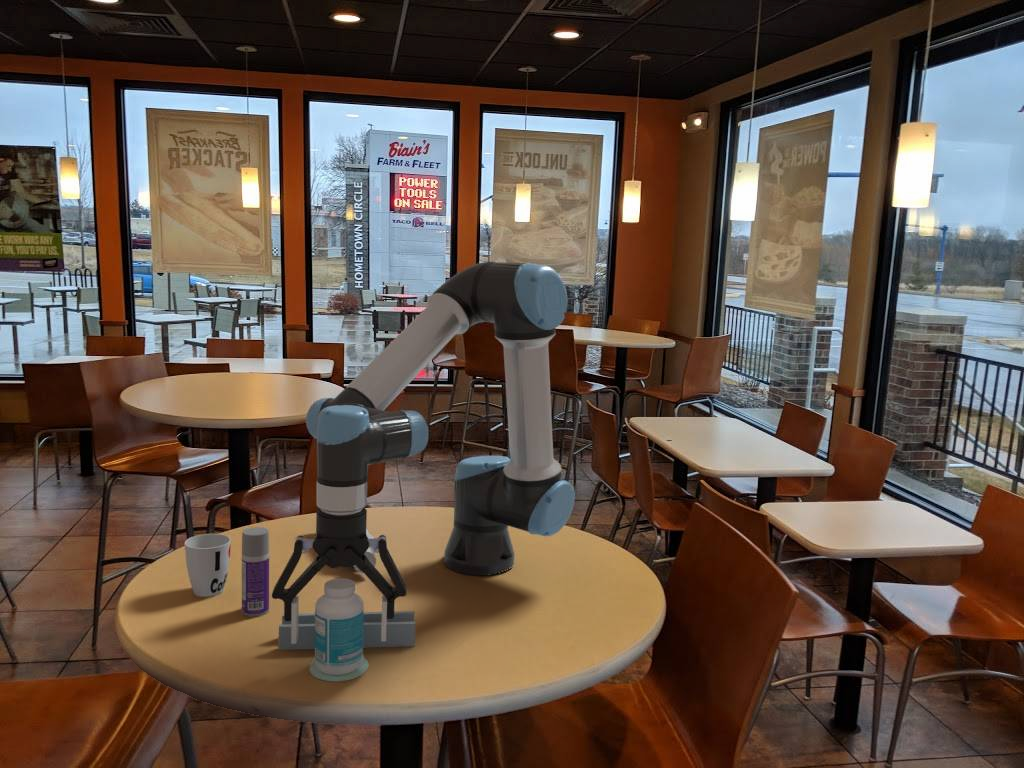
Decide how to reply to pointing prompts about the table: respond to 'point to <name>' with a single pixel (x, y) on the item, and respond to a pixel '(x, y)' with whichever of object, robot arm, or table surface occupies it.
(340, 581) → the pill bottle
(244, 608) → the container
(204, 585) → the cup
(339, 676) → the spot
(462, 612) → the table surface
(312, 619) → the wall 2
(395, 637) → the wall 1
